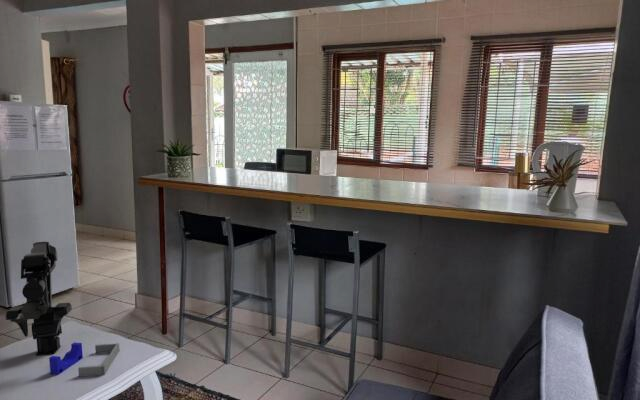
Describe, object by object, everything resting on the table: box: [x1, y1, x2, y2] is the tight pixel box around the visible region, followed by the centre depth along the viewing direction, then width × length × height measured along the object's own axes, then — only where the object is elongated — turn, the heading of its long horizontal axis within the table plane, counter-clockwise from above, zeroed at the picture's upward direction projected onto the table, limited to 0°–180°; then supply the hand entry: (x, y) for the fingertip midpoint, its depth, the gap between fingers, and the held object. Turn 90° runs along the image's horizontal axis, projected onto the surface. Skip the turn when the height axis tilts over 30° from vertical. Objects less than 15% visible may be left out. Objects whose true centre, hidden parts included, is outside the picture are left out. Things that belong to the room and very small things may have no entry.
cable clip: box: [48, 341, 84, 376], centre depth 160 cm, size 12×4×6 cm, turn 169°
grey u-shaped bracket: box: [77, 342, 121, 378], centre depth 162 cm, size 8×18×3 cm, turn 8°
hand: (41, 335), depth 158 cm, fingers open, 9 cm apart
